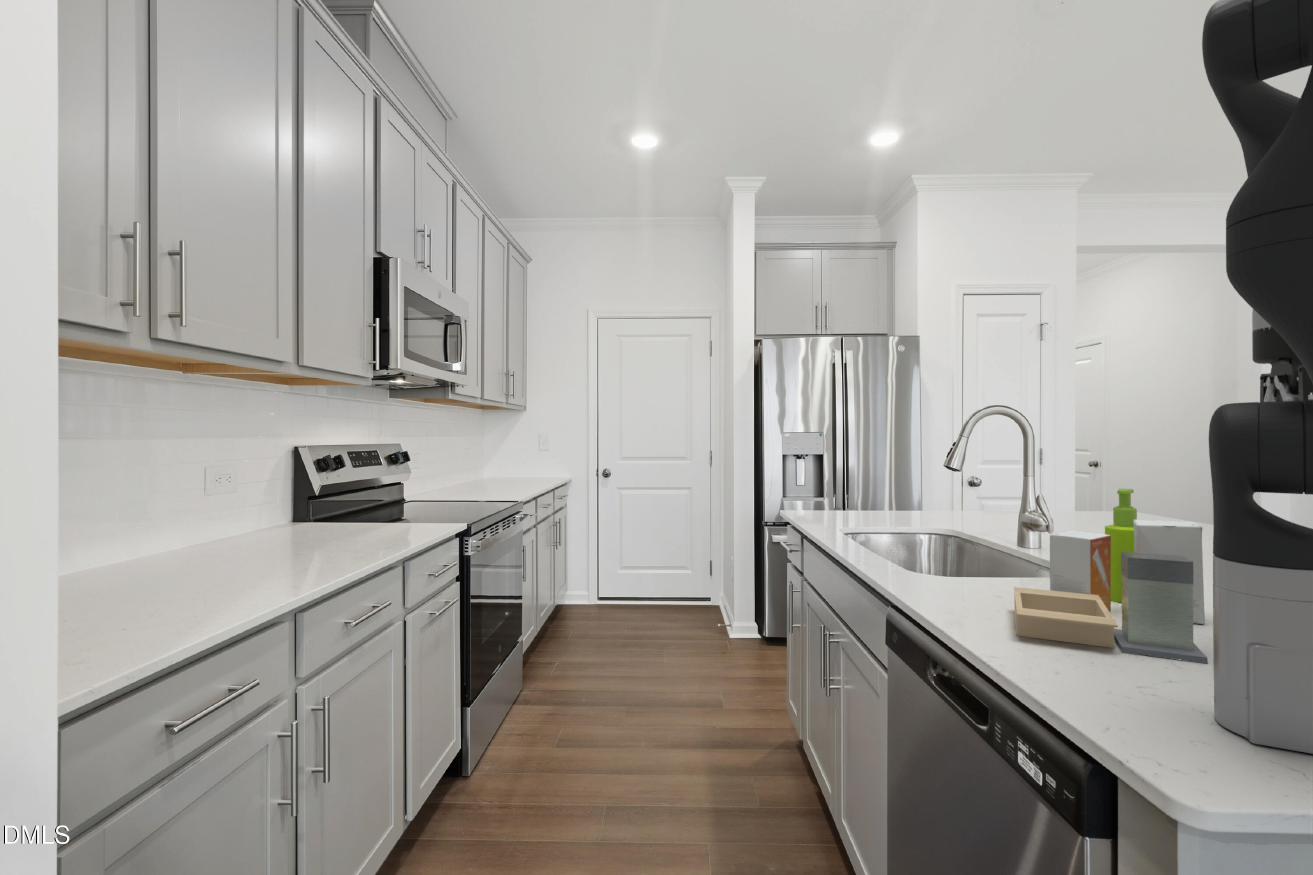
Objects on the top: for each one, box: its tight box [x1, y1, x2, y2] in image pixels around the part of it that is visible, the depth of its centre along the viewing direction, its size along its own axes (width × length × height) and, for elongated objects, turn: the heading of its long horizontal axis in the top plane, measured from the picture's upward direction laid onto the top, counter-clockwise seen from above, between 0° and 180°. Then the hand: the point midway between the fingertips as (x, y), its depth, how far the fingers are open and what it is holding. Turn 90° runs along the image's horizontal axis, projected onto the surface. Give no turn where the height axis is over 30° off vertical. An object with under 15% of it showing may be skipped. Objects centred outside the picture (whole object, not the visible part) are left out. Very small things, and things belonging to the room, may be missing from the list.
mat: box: [1114, 628, 1209, 665], centre depth 86 cm, size 9×9×1 cm
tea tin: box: [1121, 552, 1194, 651], centre depth 86 cm, size 5×7×12 cm, turn 61°
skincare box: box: [1133, 519, 1206, 625], centre depth 100 cm, size 8×7×16 cm
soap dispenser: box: [1104, 488, 1138, 604], centre depth 110 cm, size 6×7×20 cm
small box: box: [1049, 530, 1112, 612], centre depth 104 cm, size 8×6×13 cm
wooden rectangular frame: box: [1013, 586, 1119, 649], centre depth 94 cm, size 18×12×4 cm, turn 151°
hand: (1292, 447), depth 81 cm, fingers open, 8 cm apart
